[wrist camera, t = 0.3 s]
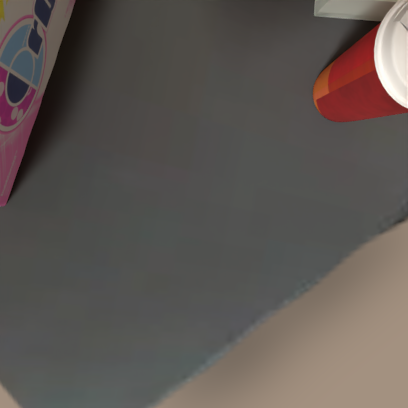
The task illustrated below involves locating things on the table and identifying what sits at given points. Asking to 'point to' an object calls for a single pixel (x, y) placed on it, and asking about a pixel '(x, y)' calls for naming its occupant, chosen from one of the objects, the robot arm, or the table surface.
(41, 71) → the gum box
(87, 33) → the table surface
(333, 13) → the tray
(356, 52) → the paper cup
